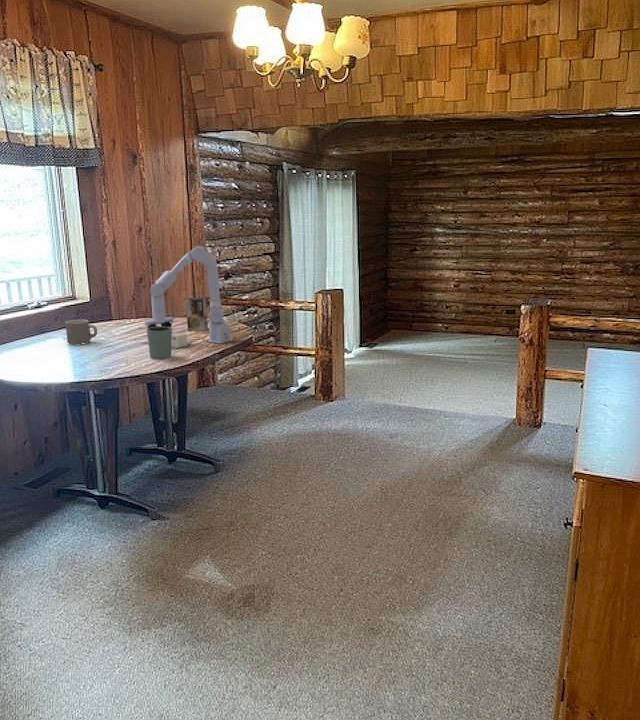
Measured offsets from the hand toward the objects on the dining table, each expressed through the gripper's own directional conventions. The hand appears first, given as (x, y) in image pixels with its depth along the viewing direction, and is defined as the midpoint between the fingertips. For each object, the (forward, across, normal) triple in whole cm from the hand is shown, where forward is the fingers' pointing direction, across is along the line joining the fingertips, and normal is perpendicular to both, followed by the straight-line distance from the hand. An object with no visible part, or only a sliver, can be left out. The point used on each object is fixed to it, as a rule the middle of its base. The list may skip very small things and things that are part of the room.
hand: (160, 339), depth 291 cm
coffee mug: (+2, +21, -30) cm, 37 cm away
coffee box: (+2, -32, -11) cm, 34 cm away
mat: (+2, 0, +5) cm, 5 cm away
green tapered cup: (+2, +18, +24) cm, 30 cm away
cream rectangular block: (+2, 0, +11) cm, 11 cm away
